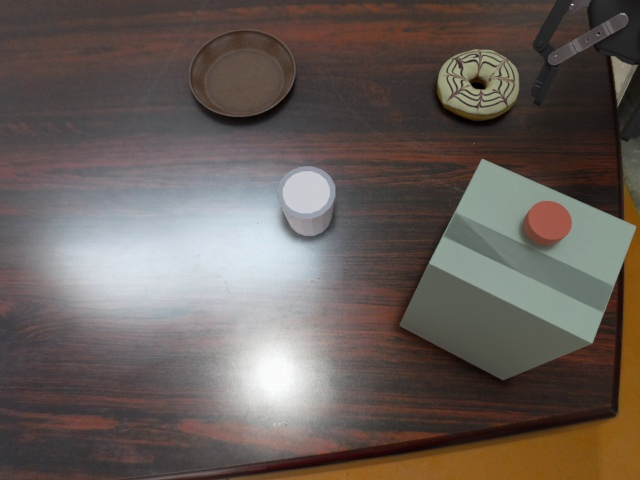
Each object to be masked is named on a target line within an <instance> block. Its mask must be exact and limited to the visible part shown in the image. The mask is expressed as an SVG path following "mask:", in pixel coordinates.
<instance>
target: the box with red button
mask: <svg viewBox="0 0 640 480" xmlns="http://www.w3.org/2000/svg"><path fill="white" fill-rule="evenodd" d="M541 201H553V202H556V203H559V204H560V205H562V206H563V207H564V208H565V209H566V210H567V211H568V212H569V214H570V216H571V219H572V227H571V230H570V232H569V233H568V234H567V235H566V236H565V237H564V238H563V239H562V240H561V241H560V242H558V243H556V244H554V245H541V244H538V243H536V242H534V241H533V240H532V239H530V238H529V237H528V235H527V234H526V232H525V230H524V225H523V222H524V218H525V216H526V214H527V213H528V211H529V210H530V209H531V208H532V207H533V206H534V205H535V204H536V203H538V202H541ZM637 228H638V227H637V225H635V224H632V223H630V222H628V221H626V220H623V219H621V218H619V217H616V216H614V215H612V214H610V213H607V212H605V211H603V210H602V209H601V210H600V209H598V208H596V207H594V206H592V205H590V204H587V203H584V202H582V201H579V200H578V199H576V198H573V197H571V196H568V195H566V194H564V193H562V192H559V191H558V190H555V189H552V188H550V187H548V186H547V185H546V186H545V185H543V184H541V183H539V182H537V181H535V180H532V179H530V178H528V177H525V176H523V175H520V174H518V173H516V172H514V171H512V170H509V169H507V168H505V167H502V166H500V165H497V164H496V163H493V162H491V161H489V160H486V159H484V158H481V160H480V162H479V164H478V165H477V167H476V170H475V171H474V173H473V175H472V177H471V179H470V181H469V183H468V185H467V187H466V189H465V191H464V193H463V195H462V197H461V199H460V201H459V203H458V205H457V207H456V208H455V211H454V212H453V215H452V217H451V218H450V220H449V222H448V224H447V226H446V229H445V230H444V232H443V234H442V236H441V238H440V239H439V242H438V244H437V246H436V248H435V250H434V251H433V254H432V256H431V258H430V260H429V262H428V264H427V266H426V268H425V270H424V272H423V274H422V276H421V278H420V280H419V282H418V285H417V288H416V289H415V291H414V293H413V296H412V297H411V299H410V302H409V304H408V306H407V308H406V310H405V312H404V314H403V316H402V318H401V321H400V323H399V327H400V328H403V329H404V330H406V331H408V332H410V333H411V334H413V335H415V336H418V337H419V338H421V339H423V340H425V341H427V342H429V343H431V344H433V345H435V346H436V347H439V348H440V349H443V350H444V351H446V352H447V353H450V354H452V355H454V356H456V357H458V358H459V359H461V360H464V361H465V362H467V363H469V364H471V365H473V366H474V367H477V368H479V369H480V370H482V371H484V372H486V373H488V374H490V375H492V376H494V377H496V378H498V379H500V380H501V381H505V380H508V379H510V378H512V377H515V376H517V375H520V374H522V373H524V372H527V371H529V370H531V369H534V368H536V367H540V366H542V365H544V364H546V363H549V362H552V361H553V360H556V359H558V358H561V357H563V356H566V355H568V354H570V353H573V352H576V351H578V350H580V349H583V348H585V347H587V346H590V345H593V344H594V341H595V338H596V335H597V332H598V330H599V327H600V325H601V322H602V319H603V317H604V315H605V312H606V309H607V306H608V304H609V301H610V298H611V296H612V293H613V291H614V288H615V285H616V282H617V280H618V278H619V275H620V272H621V270H622V267H623V264H624V261H625V259H626V256H627V253H628V251H629V248H630V245H631V243H632V240H633V238H634V235H635V233H636V229H637Z"/></svg>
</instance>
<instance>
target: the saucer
mask: <svg viewBox="0 0 640 480" xmlns="http://www.w3.org/2000/svg"><path fill="white" fill-rule="evenodd" d="M296 69H297V68H296V61H295V57H294V55H293V54H292V51H291V49H290V48H289V47H288V46H287V45H286V43H284V41H282V40H281V39H280V38H279V37H276V36H275V35H273V34H272V33H269V32H267V31H263V30H259V29H253V28H239V29H233V30H229V31H224V32H222V33H220V34H217V35H216V36H214V37H212V38H210V39H208V40H207V41H206V42H204V44H203V45H202V46H201V47H199V48H198V50H197V52H196V53H195V54H194V55H193V58H192V59H191V62H190V65H189V68H188V84H189V88H190V90H191V92H192V94H193V96H194V97H195V99H196V100H197V101H198V102H199V103H200V104H201V105H202V106H203V107H204V108H206V109H208V110H210V111H211V112H213V113H215V114H219V115H222V116H226V117H233V118H246V117H253V116H257V115H260V114H261V115H262V114H263V113H265V112H267V111H269V110H270V109H272V108H274V107H276V106H277V105H278V104H279V103H280V102H282V100H284V98H285V97H286V96H287V95H288V93H289V92H290V91H291V89H292V87H293V85H294V81H295V78H296Z"/></svg>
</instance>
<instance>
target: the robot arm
mask: <svg viewBox="0 0 640 480" xmlns="http://www.w3.org/2000/svg"><path fill="white" fill-rule="evenodd" d="M581 8H587V9H586V12H587V20H588V21H587V22H588V27H589V30H588V31H586V32H584V33H583V34H581V35H579V36H577V37H576V38H574V39H571V40H570V41H569V42H567V43H565V44H563V45H562V46H559V48H557V49H556V48H555V47H554V46H553V45H552V44H551V43H550V41H551V39H552V37H553V35H554V34H555V32H556V31H557V28H558V27H559V25H560V23H561V22H562V20H563V18H564V16H565V15H566V16H572V15H575V14H576V13H577V12H578V10H580V9H581ZM591 46H592V48H593V49H594V51H595V52H596V53H597V54H600V55H602V56H606V57H615V59H617V60H618V61H620V62H621V63H624V64H627V65H630V66H639V65H640V0H555V2H554V5H553V7H552V8H551V10H550V12H549V14H548V15H547V16H546V19H545V20H544V22H543V24H542V26H541V27H540V30H539V31H538V33H537V35H536V36H535V39H534V40H533V42H532V48H533V50H534V51H535V52H537V53H538V54H539V55H540V56H541V57H542V59H543V61H544V62H543V65H542V68H541V70H540V72H539V74H538V76H537V78H536V80H535V82H534V83H533V86H532V87H531V90H530V97H533V98H534V100H533V102H532V104H533V105H535V106H537V107H540V106H541V105H542V104H543V101H544V99H545V98H546V95H547V93H548V91H549V89H550V87H551V85H552V84H553V82H554V80H555V77H556V75H558V72H559V70H560V68H559V66H560V64H561V63H563V62H565V61H566V60H568V59H570V58H572V57H573V56H575V55H578V54H579V53H580V52H583V51H584V50H586V49H588V48H590V47H591ZM634 107H635V108H634V109H633V111H632V113H631V114H630V115H629V117H628V119H627V120H626V122H625V124H624V125H623V127H622V129H621V130H620V132H619V134H618V138H619V140H621V141H624V142H626V143H628V142H630V140H631V138H634V139H638V138H639V137H640V100H639V101H638V103H637V104H636V106H634Z"/></svg>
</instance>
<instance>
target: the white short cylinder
mask: <svg viewBox="0 0 640 480" xmlns="http://www.w3.org/2000/svg"><path fill="white" fill-rule="evenodd" d="M276 189H277V190H276V191H277V192H276V193H277V195H276V198H277V201H278V203H279V205H280V207H281V210H282V212H283V214H284V216H285V218H286V220H287V222H288V224H289V226H290V229H292V230H293V231H294V232H295V233H296V234H298V235H301V236H304V237H316V236H317V235H320V234H323V232H324V231H326V229H328V228H329V226H330V223H331V222H332V218H333V213H334V212H333V211H334V207H335V201H336V185H335V182H334V181H333V179H332V177H331V176H330V175H329V174H328V173H327V172H326V171H324V170H323V169H321V168H318V167H315V166H313V165H310V166H306V165H305V166H298V167H296V168H293V169H291V170H289V171H288V172H287V173H286V174H285V175H283V177H281V179H280V182H279V184H278V186H277V188H276Z"/></svg>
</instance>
